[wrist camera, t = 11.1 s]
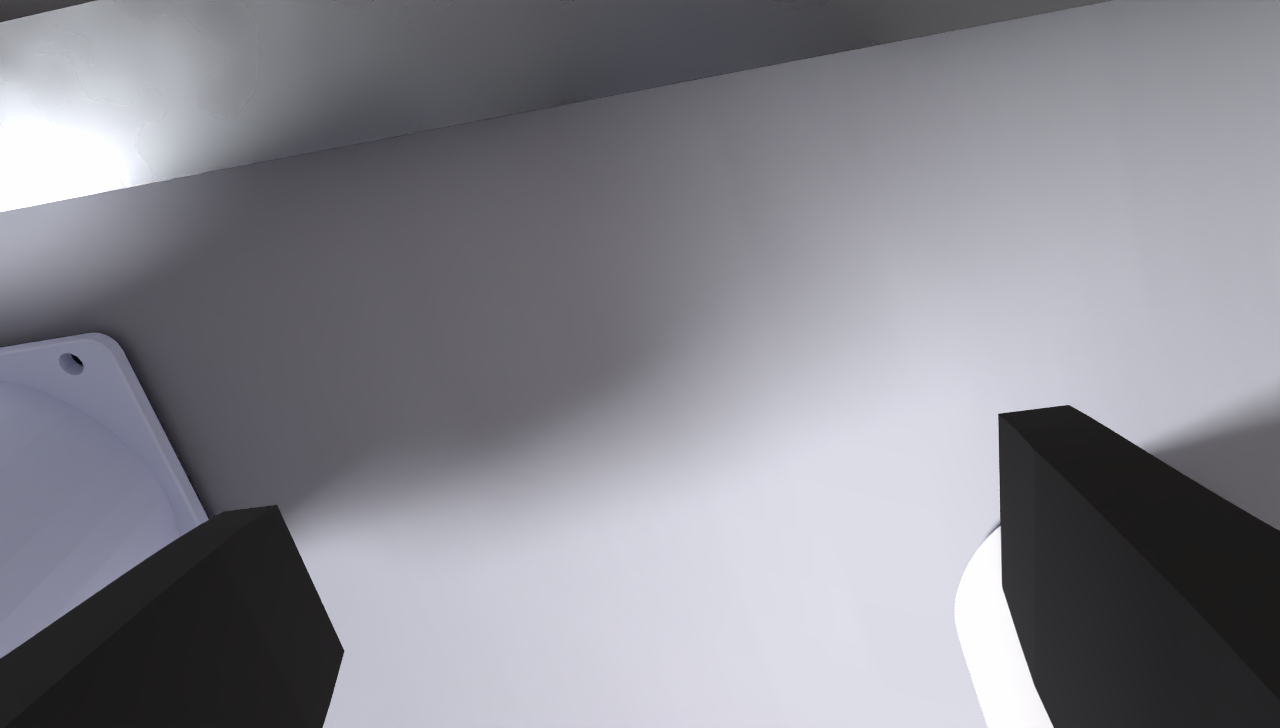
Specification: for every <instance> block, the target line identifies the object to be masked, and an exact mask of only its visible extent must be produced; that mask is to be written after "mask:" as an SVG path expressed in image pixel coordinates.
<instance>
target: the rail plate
mask: <svg viewBox="0 0 1280 728" xmlns="http://www.w3.org/2000/svg"><path fill="white" fill-rule="evenodd" d="M1106 1H1111V0H96V1H92V2H88V3H83V4H79V5H74V6H70V7H66V8H61V9H57V10H52V11H48V12H44V13H39V14H35V15H30V16H26V17H22V18H17V19H13V20H8V21H4V22H0V212H2V211H7V210H13V209H18V208H23V207H28V206H34V205H39V204H44V203H49V202H55V201H60V200H65V199H70V198H76V197H81V196H86V195H92V194H97V193H102V192H107V191H113V190H118V189H123V188H128V187H134V186H139V185H144V184H149V183H155V182H160V181H165V180H170V179H176V178H181V177H186V176H191V175H197V174H202V173H207V172H212V171H218V170H223V169H228V168H233V167H239V166H244V165H249V164H254V163H260V162H265V161H270V160H276V159H281V158H286V157H291V156H297V155H302V154H307V153H312V152H318V151H323V150H328V149H333V148H339V147H344V146H349V145H354V144H360V143H365V142H370V141H375V140H381V139H386V138H391V137H396V136H402V135H407V134H412V133H417V132H423V131H428V130H433V129H438V128H444V127H449V126H454V125H460V124H465V123H470V122H475V121H481V120H486V119H491V118H496V117H502V116H507V115H512V114H517V113H523V112H528V111H533V110H538V109H544V108H549V107H554V106H559V105H565V104H570V103H575V102H580V101H586V100H591V99H596V98H601V97H607V96H612V95H617V94H622V93H628V92H633V91H638V90H644V89H649V88H654V87H659V86H665V85H670V84H675V83H680V82H686V81H691V80H696V79H701V78H707V77H712V76H717V75H722V74H728V73H733V72H738V71H743V70H749V69H754V68H759V67H764V66H770V65H775V64H780V63H785V62H791V61H796V60H801V59H806V58H812V57H817V56H822V55H828V54H833V53H838V52H843V51H849V50H854V49H859V48H864V47H870V46H875V45H880V44H885V43H891V42H896V41H901V40H906V39H912V38H917V37H922V36H927V35H933V34H938V33H943V32H948V31H954V30H959V29H964V28H969V27H975V26H980V25H985V24H990V23H996V22H1001V21H1006V20H1012V19H1017V18H1022V17H1027V16H1033V15H1038V14H1043V13H1048V12H1054V11H1059V10H1064V9H1069V8H1075V7H1080V6H1085V5H1090V4H1096V3H1101V2H1106Z"/></svg>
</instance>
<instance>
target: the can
mask: <svg viewBox="0 0 1280 728" xmlns="http://www.w3.org/2000/svg"><path fill="white" fill-rule="evenodd" d="M955 622H956V627H957V632H958V636H959V639H960V643H961V646H962V650H963V653H964V656H965V659H966V662H967V665H968V668H969V672H970V675H971V678H972V681H973V684H974V687H975V690H976V693H977V696H978V699H979V703H980V706H981V709H982V712H983V715H984V718H985V721H986V724H987V727H988V728H1054V727H1053V725H1052V723H1051V721H1050V719H1049V717H1048V714H1047V712H1046V710H1045V708H1044V706H1043V703H1042V701H1041V699H1040V697H1039V695H1038V692H1037V690H1036V688H1035V686H1034V683H1033V680H1032V677H1031V674H1030V671H1029V668H1028V665H1027V662H1026V660H1025V657H1024V654H1023V651H1022V648H1021V645H1020V642H1019V639H1018V636H1017V632H1016V629H1015V626H1014V623H1013V620H1012V617H1011V614H1010V610H1009V607H1008V604H1007V601H1006V598H1005V595H1004V592H1003V588H1002V568H1001V525H1000V526H999V527H998V528H997V529H996V530H995V531H994V532H993V533H991V534H990V535H989V537H988V538H987V539H986V540H985V541H984V542H983V543H982V544H981V546H980V547H979V548H978V550H977V551H976V552H975V554H974V555H973V557H972V559H971V560H970V562H969V564H968V566H967V568H966V570H965V572H964V574H963V577H962V579H961V582H960V585H959V588H958V591H957V595H956V600H955Z"/></svg>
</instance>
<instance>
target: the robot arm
mask: <svg viewBox="0 0 1280 728" xmlns="http://www.w3.org/2000/svg"><path fill="white" fill-rule="evenodd" d="M71 354H73V355H75V356H77V357H78V358H79V359H80V360H81V361H82V363H83V366H81V365H79V364H78V363H76V362H75V361H74V359H73V358H72V356H71ZM998 419H999V469H1000V519H1001V568H1002V588H1003V592H1004V595H1005V598H1006V601H1007V604H1008V607H1009V610H1010V614H1011V617H1012V620H1013V623H1014V626H1015V629H1016V632H1017V636H1018V639H1019V642H1020V645H1021V648H1022V651H1023V654H1024V657H1025V660H1026V662H1027V665H1028V668H1029V671H1030V674H1031V677H1032V680H1033V683H1034V686H1035V688H1036V690H1037V692H1038V695H1039V697H1040V699H1041V701H1042V703H1043V706H1044V708H1045V710H1046V712H1047V714H1048V717H1049V719H1050V721H1051V723H1052V725H1053V727H1054V728H1280V531H1279V530H1277V529H1275V528H1273V527H1272V526H1270V525H1268V524H1266V523H1265V522H1263V521H1261V520H1259V519H1258V518H1256V517H1254V516H1252V515H1251V514H1249V513H1247V512H1246V511H1244V510H1242V509H1240V508H1239V507H1237V506H1235V505H1234V504H1232V503H1230V502H1229V501H1227V500H1225V499H1223V498H1222V497H1220V496H1218V495H1217V494H1215V493H1213V492H1212V491H1210V490H1208V489H1207V488H1205V487H1203V486H1202V485H1200V484H1198V483H1197V482H1195V481H1193V480H1192V479H1190V478H1188V477H1187V476H1185V475H1183V474H1182V473H1180V472H1179V471H1177V470H1175V469H1174V468H1172V467H1170V466H1169V465H1167V464H1166V463H1164V462H1162V461H1161V460H1159V459H1157V458H1156V457H1154V456H1153V455H1151V454H1149V453H1148V452H1146V451H1144V450H1143V449H1141V448H1140V447H1138V446H1136V445H1135V444H1133V443H1132V442H1130V441H1128V440H1127V439H1125V438H1123V437H1122V436H1120V435H1119V434H1117V433H1115V432H1114V431H1112V430H1111V429H1109V428H1107V427H1106V426H1104V425H1102V424H1101V423H1099V422H1097V421H1096V420H1094V419H1092V418H1091V417H1089V416H1087V415H1086V414H1084V413H1082V412H1080V411H1079V410H1077V409H1075V408H1073V407H1071V406H1069V405H1065V406H1057V407H1049V408H1041V409H1033V410H1025V411H1017V412H1009V413H1002V414H998ZM343 654H344V649H343V647H342V645H341V643H340V641H339V638H338V636H337V634H336V632H335V630H334V628H333V625H332V623H331V621H330V619H329V617H328V615H327V612H326V610H325V608H324V606H323V604H322V602H321V599H320V597H319V595H318V593H317V591H316V589H315V586H314V584H313V582H312V580H311V578H310V576H309V573H308V571H307V569H306V567H305V565H304V562H303V560H302V558H301V556H300V554H299V552H298V549H297V547H296V545H295V543H294V541H293V539H292V536H291V534H290V532H289V530H288V528H287V526H286V523H285V521H284V519H283V517H282V515H281V513H280V510H279V508H278V506H277V505H273V506H265V507H257V508H249V509H241V510H233V511H225V512H222V513H221V514H219V515H217V516H215V517H213V518H211V519H210V520H209V519H208V517H207V515H206V513H205V511H204V509H203V507H202V505H201V503H200V501H199V499H198V497H197V495H196V493H195V491H194V489H193V487H192V486H191V484H190V482H189V480H188V478H187V476H186V474H185V472H184V470H183V468H182V466H181V464H180V462H179V460H178V458H177V456H176V454H175V452H174V450H173V448H172V446H171V444H170V442H169V440H168V438H167V436H166V434H165V432H164V430H163V428H162V426H161V424H160V422H159V420H158V418H157V416H156V414H155V412H154V411H153V409H152V407H151V405H150V403H149V401H148V399H147V397H146V395H145V393H144V391H143V389H142V387H141V385H140V383H139V381H138V379H137V377H136V375H135V373H134V371H133V369H132V367H131V365H130V363H129V361H128V359H127V357H126V355H125V353H124V351H123V350H122V348H121V347H120V346H119V344H118V343H117V342H116V341H115V340H113V339H112V338H111V337H109V336H107V335H104V334H101V333H86V334H80V335H74V336H68V337H62V338H56V339H50V340H44V341H38V342H32V343H25V344H19V345H13V346H7V347H1V348H0V728H322V727H323V724H324V721H325V718H326V715H327V711H328V708H329V705H330V702H331V698H332V695H333V691H334V687H335V683H336V680H337V676H338V672H339V668H340V665H341V661H342V657H343Z"/></svg>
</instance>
